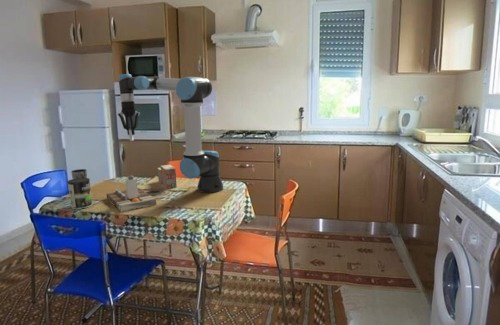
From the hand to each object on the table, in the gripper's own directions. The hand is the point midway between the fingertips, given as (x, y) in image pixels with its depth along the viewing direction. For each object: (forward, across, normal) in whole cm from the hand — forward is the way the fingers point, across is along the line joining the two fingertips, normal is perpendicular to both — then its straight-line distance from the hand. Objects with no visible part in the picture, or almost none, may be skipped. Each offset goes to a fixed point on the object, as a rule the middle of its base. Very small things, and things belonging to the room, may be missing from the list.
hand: (131, 140), depth 223 cm
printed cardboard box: (+30, -18, -6) cm, 35 cm away
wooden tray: (+30, -8, +31) cm, 44 cm away
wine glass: (+29, +26, +18) cm, 43 cm away
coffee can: (+30, +16, +37) cm, 50 cm away
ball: (+29, -13, +37) cm, 48 cm away
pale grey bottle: (+27, -10, +33) cm, 44 cm away
